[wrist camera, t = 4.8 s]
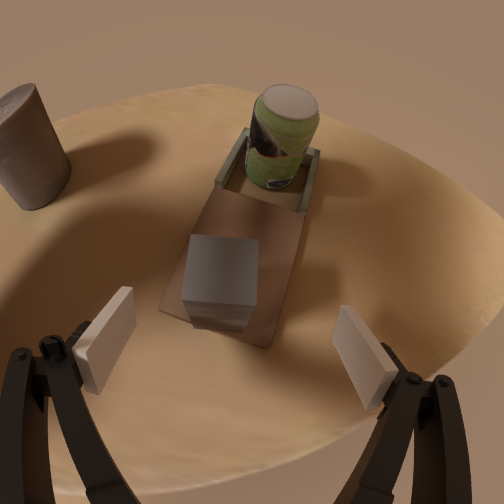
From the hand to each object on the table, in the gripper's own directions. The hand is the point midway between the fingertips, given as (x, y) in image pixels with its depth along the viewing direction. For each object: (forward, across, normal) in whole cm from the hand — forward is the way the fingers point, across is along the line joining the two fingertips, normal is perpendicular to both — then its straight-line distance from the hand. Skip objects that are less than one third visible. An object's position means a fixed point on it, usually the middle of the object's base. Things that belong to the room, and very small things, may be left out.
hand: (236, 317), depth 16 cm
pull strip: (+13, +1, +3) cm, 14 cm away
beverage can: (+18, +3, +8) cm, 20 cm away
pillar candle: (+16, -28, +6) cm, 33 cm away
